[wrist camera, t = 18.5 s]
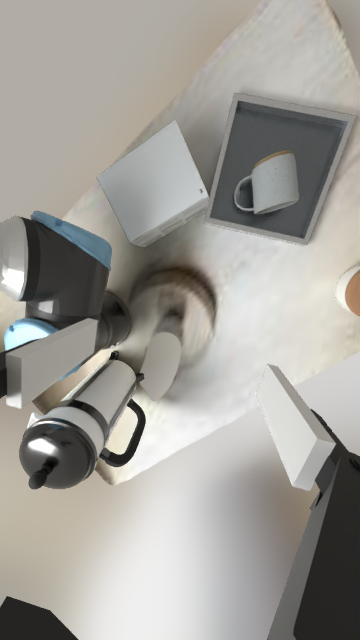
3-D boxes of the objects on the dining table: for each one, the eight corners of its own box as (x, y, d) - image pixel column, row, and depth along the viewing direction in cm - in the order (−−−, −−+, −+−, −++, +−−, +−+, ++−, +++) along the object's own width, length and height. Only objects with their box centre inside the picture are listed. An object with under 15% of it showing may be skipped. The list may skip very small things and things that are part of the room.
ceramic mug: (286, 159, 38) (303, 139, 31) (290, 206, 41) (306, 197, 34) (230, 178, 41) (234, 165, 34) (237, 221, 43) (241, 217, 36)
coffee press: (97, 399, 59) (-3, 522, 31) (91, 349, 55) (-30, 438, 27) (154, 404, 58) (104, 540, 29) (152, 353, 54) (94, 452, 25)
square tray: (203, 223, 44) (203, 221, 42) (232, 101, 38) (234, 92, 36) (302, 246, 43) (307, 245, 41) (348, 123, 37) (356, 115, 35)
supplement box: (182, 149, 41) (176, 116, 32) (209, 211, 44) (210, 196, 35) (115, 193, 45) (93, 175, 36) (143, 248, 47) (129, 244, 38)
